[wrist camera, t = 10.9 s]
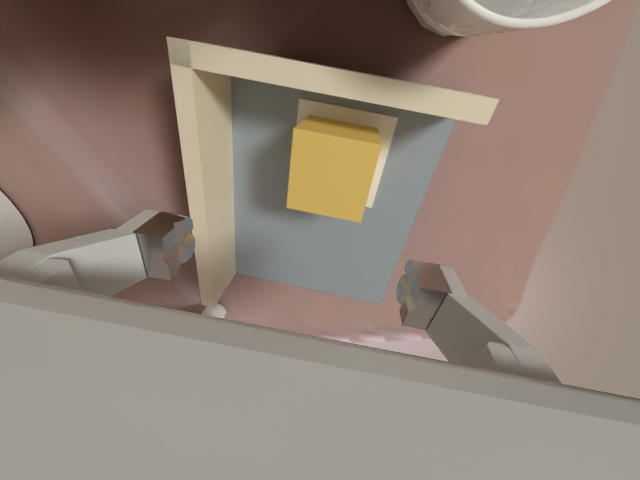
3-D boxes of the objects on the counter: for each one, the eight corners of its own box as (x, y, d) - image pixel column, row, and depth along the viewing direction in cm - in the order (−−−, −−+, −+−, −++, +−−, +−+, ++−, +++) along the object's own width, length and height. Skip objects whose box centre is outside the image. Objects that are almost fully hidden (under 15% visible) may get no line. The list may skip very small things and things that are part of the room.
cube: (301, 181, 22) (286, 207, 18) (308, 115, 19) (293, 128, 15) (361, 193, 22) (360, 222, 17) (377, 128, 19) (382, 145, 15)
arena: (228, 265, 30) (201, 305, 25) (219, 45, 19) (166, 36, 14) (379, 297, 29) (383, 344, 24) (461, 91, 18) (499, 99, 13)
